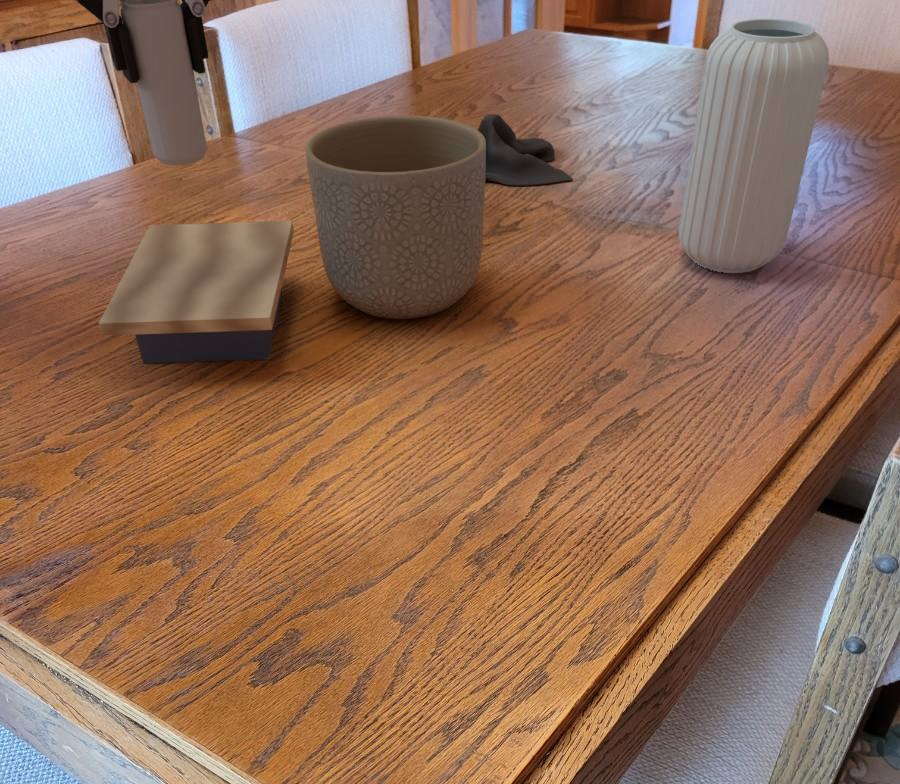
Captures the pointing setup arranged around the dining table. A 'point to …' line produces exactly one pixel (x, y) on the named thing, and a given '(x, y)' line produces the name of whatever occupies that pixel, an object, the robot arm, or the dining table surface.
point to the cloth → (517, 156)
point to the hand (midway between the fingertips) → (164, 71)
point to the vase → (751, 142)
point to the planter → (399, 211)
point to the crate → (207, 345)
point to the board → (202, 279)
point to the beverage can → (165, 80)
